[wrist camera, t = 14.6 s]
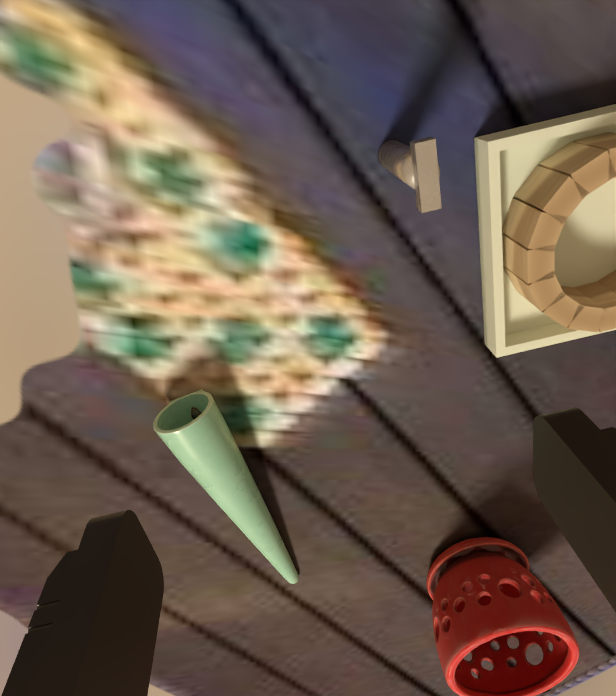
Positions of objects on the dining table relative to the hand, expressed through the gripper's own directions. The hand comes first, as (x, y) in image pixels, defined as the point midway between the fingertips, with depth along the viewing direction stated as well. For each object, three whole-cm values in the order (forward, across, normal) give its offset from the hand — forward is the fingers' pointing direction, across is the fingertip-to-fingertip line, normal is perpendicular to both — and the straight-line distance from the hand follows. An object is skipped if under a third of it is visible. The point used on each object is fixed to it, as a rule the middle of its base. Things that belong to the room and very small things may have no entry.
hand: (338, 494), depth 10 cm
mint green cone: (+33, +10, +29) cm, 45 cm away
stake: (+32, -9, 0) cm, 33 cm away
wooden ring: (+32, -24, +9) cm, 40 cm away
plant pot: (+32, -12, +47) cm, 58 cm away
